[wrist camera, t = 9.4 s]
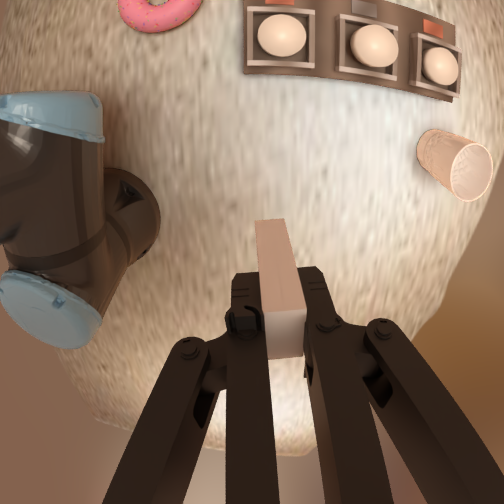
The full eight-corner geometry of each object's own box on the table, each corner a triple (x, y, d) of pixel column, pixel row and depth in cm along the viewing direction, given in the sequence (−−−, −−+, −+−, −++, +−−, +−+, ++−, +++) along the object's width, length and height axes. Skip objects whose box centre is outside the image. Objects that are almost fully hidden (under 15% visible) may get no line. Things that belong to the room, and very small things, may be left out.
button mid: (349, 63, 26) (355, 62, 24) (350, 23, 23) (356, 20, 22) (390, 70, 26) (397, 70, 24) (390, 32, 23) (398, 30, 22)
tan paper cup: (411, 126, 34) (451, 144, 26) (452, 124, 34) (494, 142, 25) (413, 177, 39) (448, 205, 30) (452, 172, 38) (489, 198, 29)
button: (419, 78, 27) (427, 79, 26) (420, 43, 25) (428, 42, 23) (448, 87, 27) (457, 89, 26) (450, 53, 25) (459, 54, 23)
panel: (244, 73, 32) (243, 73, 27) (244, -11, 25) (243, -23, 21) (440, 99, 32) (460, 105, 28) (443, 26, 25) (463, 25, 21)
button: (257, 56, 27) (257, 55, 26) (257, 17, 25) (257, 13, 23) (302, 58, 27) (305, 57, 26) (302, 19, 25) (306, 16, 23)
